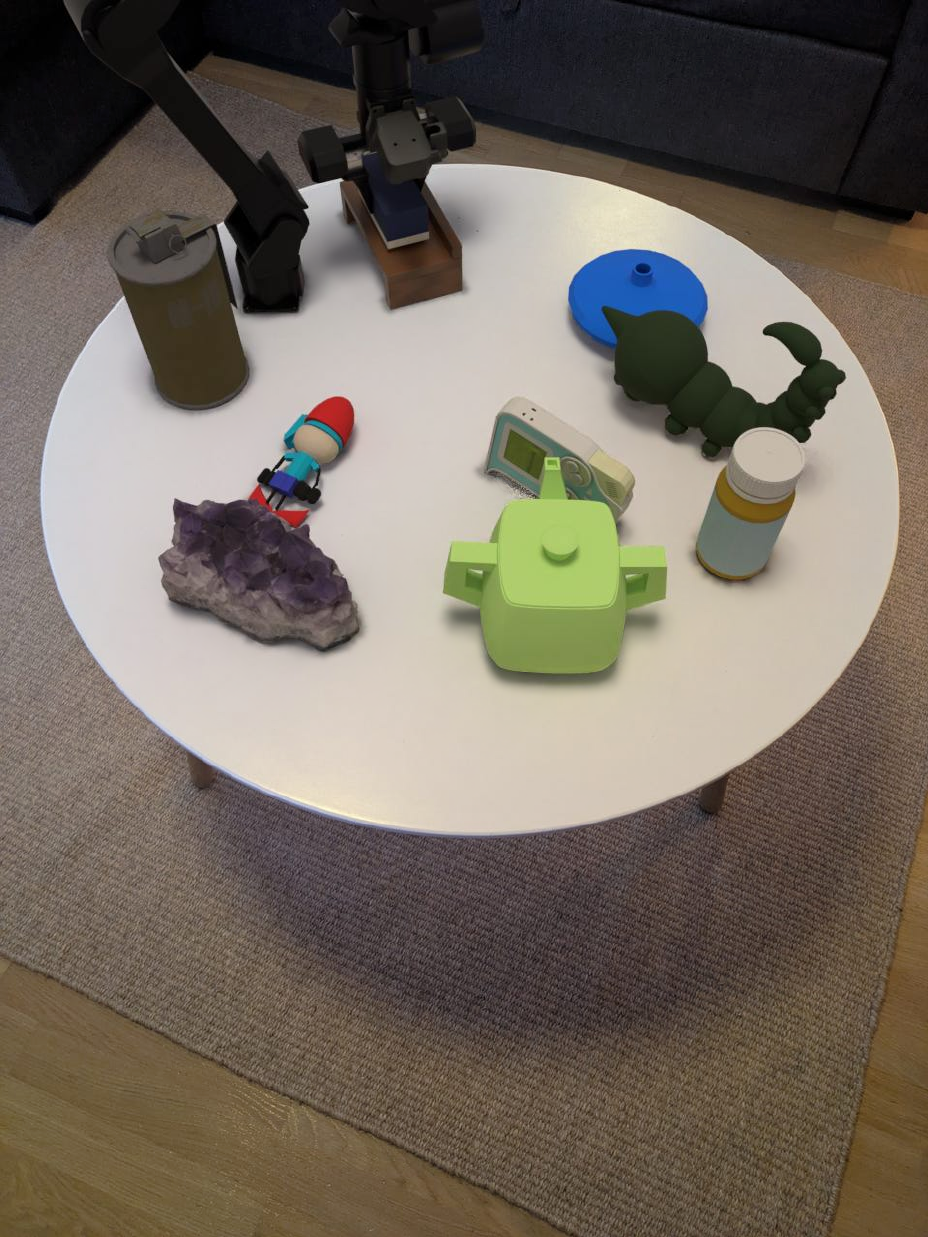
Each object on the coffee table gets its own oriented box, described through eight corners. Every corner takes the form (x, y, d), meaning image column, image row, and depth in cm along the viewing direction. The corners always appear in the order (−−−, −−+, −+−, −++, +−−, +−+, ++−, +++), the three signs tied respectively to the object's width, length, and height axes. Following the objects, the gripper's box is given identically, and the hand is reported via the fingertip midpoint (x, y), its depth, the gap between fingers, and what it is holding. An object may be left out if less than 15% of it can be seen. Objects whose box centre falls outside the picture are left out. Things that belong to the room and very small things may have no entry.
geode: (391, 577, 98) (380, 529, 88) (336, 680, 94) (319, 641, 84) (211, 503, 101) (183, 449, 92) (151, 599, 97) (115, 553, 88)
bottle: (771, 535, 100) (816, 434, 87) (759, 591, 96) (803, 495, 84) (703, 516, 101) (737, 414, 88) (687, 571, 98) (720, 474, 85)
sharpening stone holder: (390, 309, 116) (386, 265, 111) (343, 215, 125) (337, 169, 120) (462, 290, 118) (462, 245, 113) (411, 198, 127) (408, 152, 121)
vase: (709, 282, 119) (722, 232, 112) (694, 378, 111) (707, 329, 105) (578, 262, 120) (584, 211, 114) (554, 355, 113) (559, 306, 107)
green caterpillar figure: (802, 457, 107) (612, 337, 113) (879, 331, 90) (651, 198, 96) (757, 513, 103) (563, 386, 109) (828, 392, 87) (594, 250, 93)
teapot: (449, 519, 101) (446, 432, 90) (648, 523, 101) (670, 436, 89) (441, 682, 92) (437, 607, 80) (660, 687, 91) (687, 613, 80)
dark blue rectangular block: (429, 238, 115) (428, 204, 111) (388, 249, 114) (385, 215, 110) (397, 181, 120) (395, 147, 116) (358, 191, 119) (354, 157, 115)
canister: (187, 425, 108) (134, 274, 90) (137, 371, 112) (77, 217, 94) (271, 377, 111) (235, 223, 94) (219, 326, 115) (176, 170, 98)
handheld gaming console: (602, 552, 101) (481, 473, 104) (616, 533, 103) (496, 455, 105) (630, 491, 91) (496, 405, 94) (646, 471, 93) (513, 387, 95)
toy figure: (307, 538, 102) (380, 424, 106) (292, 514, 97) (369, 395, 102) (248, 513, 104) (321, 402, 109) (230, 488, 100) (308, 373, 104)
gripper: (317, 139, 97) (335, 270, 110) (496, 98, 100) (493, 229, 114) (286, 77, 102) (307, 209, 116) (457, 39, 106) (458, 172, 119)
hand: (392, 206), depth 116 cm, fingers closed on dark blue rectangular block, 5 cm apart
